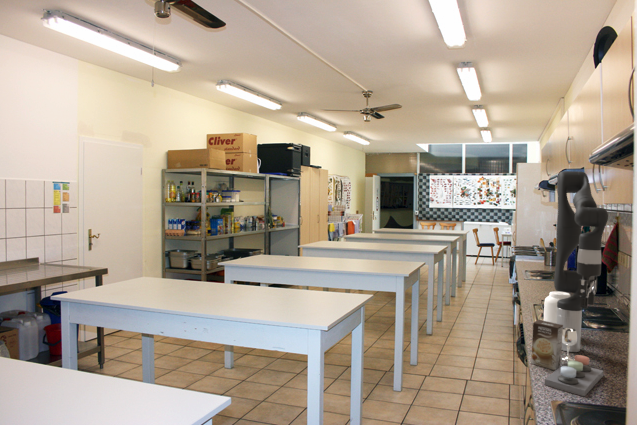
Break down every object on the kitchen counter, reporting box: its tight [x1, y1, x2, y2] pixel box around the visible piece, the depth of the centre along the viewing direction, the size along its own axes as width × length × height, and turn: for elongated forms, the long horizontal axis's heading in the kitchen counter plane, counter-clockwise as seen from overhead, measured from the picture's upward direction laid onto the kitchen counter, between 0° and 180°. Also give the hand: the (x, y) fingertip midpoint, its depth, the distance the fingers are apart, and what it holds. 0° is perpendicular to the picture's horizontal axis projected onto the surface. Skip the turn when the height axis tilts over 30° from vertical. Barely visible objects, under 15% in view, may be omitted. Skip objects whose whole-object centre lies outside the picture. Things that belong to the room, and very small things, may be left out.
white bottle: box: [543, 290, 571, 323], centre depth 209 cm, size 12×12×20 cm
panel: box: [544, 361, 604, 397], centre depth 157 cm, size 24×12×3 cm, turn 135°
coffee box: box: [530, 319, 563, 371], centre depth 171 cm, size 9×6×16 cm
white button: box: [560, 365, 576, 378], centre depth 151 cm, size 5×5×2 cm
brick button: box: [573, 354, 590, 366], centre depth 163 cm, size 5×5×2 cm
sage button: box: [567, 361, 583, 371], centre depth 157 cm, size 5×5×2 cm
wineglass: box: [561, 328, 577, 362], centre depth 177 cm, size 6×6×12 cm
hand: (587, 305), depth 165 cm, fingers open, 7 cm apart
